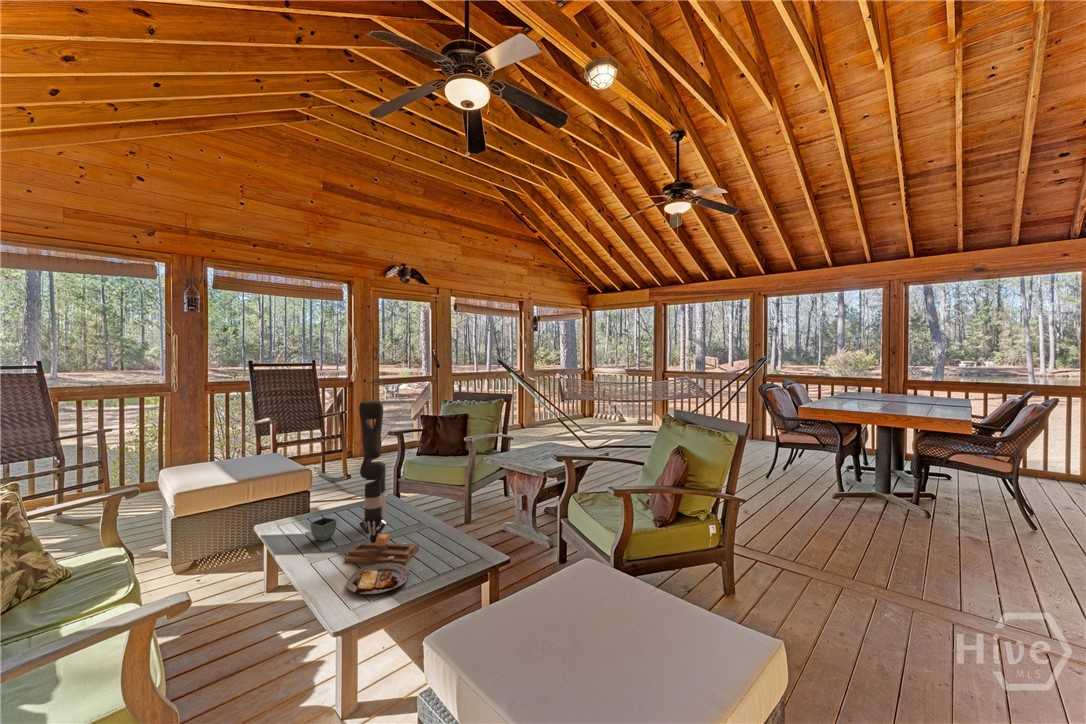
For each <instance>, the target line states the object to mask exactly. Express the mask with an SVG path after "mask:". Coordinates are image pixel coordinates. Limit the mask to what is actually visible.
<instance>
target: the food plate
mask: <svg viewBox="0 0 1086 724" xmlns="http://www.w3.org/2000/svg"><path fill="white" fill-rule="evenodd" d="M379 573H380V577H379ZM393 573H395V574H396V575H397V576H396V575H391V574H393ZM409 573H410V568H409V566H406V565H401V564H398V563H382V564H370V565H368V566H364V567H362V568H360V569H358V570H356V571H355V572H354V573H352V574H351V575H350V576H349V579H348V581H347V583H346V585H345V588H346V590H348V591H349V592H350V593H352V594H355V595H358V596H359V595H378V594H383V593H387V592H389V591H394V590H396V589H398V588H400V587H402V586H403V584H405V583H406V582H407V581H408V578H409V575H410V574H409Z"/></svg>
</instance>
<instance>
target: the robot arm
mask: <svg viewBox="0 0 1086 724" xmlns="http://www.w3.org/2000/svg"><path fill="white" fill-rule="evenodd" d="M358 411H359V414H358V415H359V419H360V420H359V421H360V427H361V441H362V442H361V443H362V444H361V445H362V452H363V460H362V463H361V466H360V469H359V474H360V477H361V478H362V479H365V480H366V481H369V482H367V483H365V485H364V500H363V501H364V504H363V506H364V509H363V510H364V511H363V512H364V518H363V520H362V521H361V522H360V523H359V526H360V527H361V529H362V530H363V532H364V533H365V534H366V535H369V540H370V543H376V538H377V537H378V535H380V534H381V533H382V531H383V530H384V529H385V528H386V526H387V525H388V522H387V501H386V500H387V499H386V497H387V496H386V470H387V469H386V467H387V466H386V463H385V462H384V461H374V460H377V459H378V458H381V457H380V456H381V449H382V428H383V419H384V404H383V401H382V400H364V401H361V402H360V403H359V406H358ZM369 420H375V423H374V425H372V424H371V423H370V421H369ZM379 526H380V527H379Z"/></svg>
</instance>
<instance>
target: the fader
mask: <svg viewBox="0 0 1086 724" xmlns="http://www.w3.org/2000/svg"><path fill="white" fill-rule="evenodd" d="M375 543H376V546H378V550H380V551H386V550H387V543H390V534H389V533H386V534H385V533H379V534H378V535H377V538H376V542H375Z"/></svg>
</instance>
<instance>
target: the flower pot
mask: <svg viewBox="0 0 1086 724" xmlns="http://www.w3.org/2000/svg"><path fill="white" fill-rule="evenodd" d="M309 525H310V530H311V531H310V532H311V535H312V537H313V538H314V539H315V540H316V541H321V542H325V541H327V540H330V539H332V537H333V536H334V535H335V531H336V528H337V519H335V518H332V517H331V518H330V517H325V516H324V517H322V518H319V519H316V520H315V521H312V522H310V523H309Z"/></svg>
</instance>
